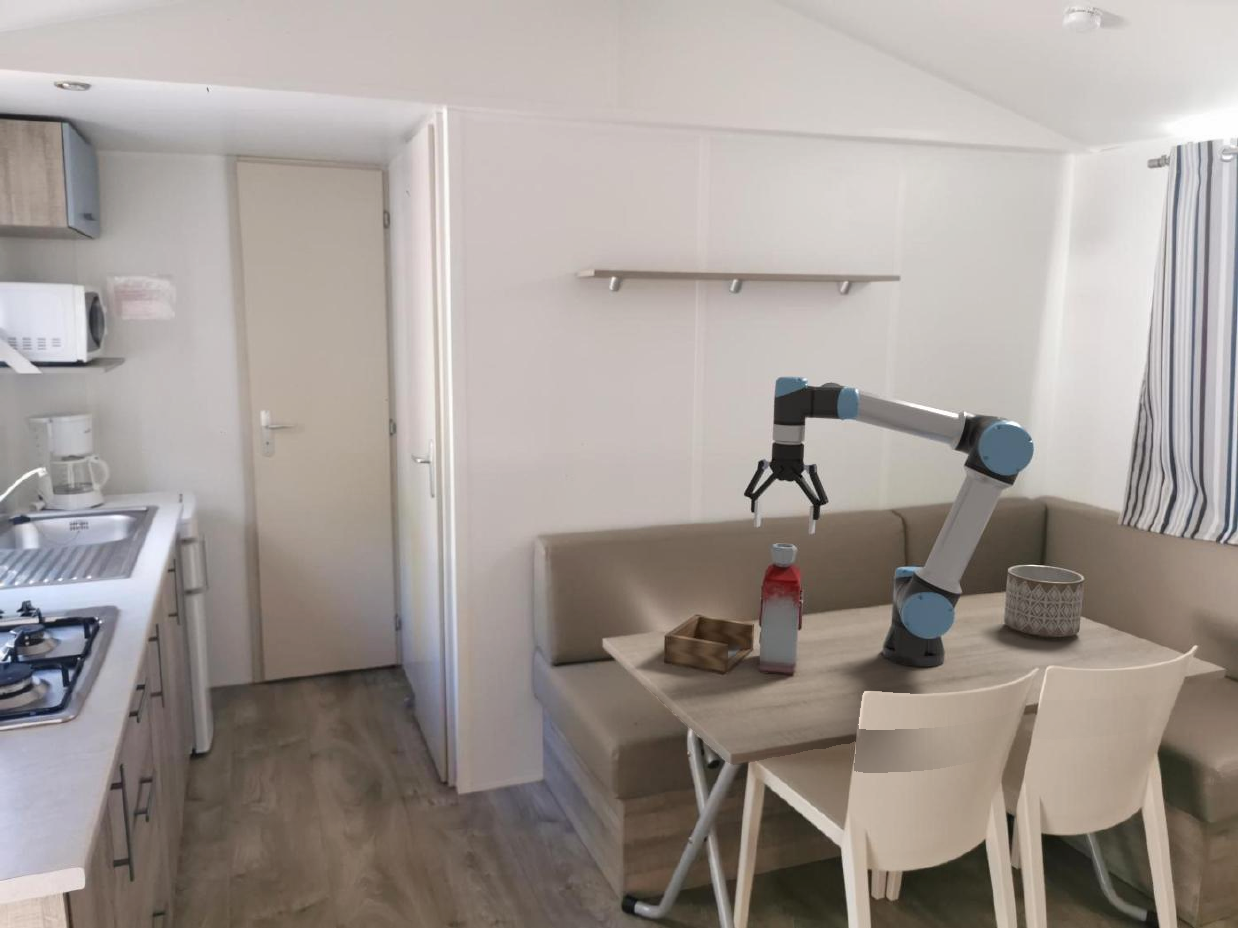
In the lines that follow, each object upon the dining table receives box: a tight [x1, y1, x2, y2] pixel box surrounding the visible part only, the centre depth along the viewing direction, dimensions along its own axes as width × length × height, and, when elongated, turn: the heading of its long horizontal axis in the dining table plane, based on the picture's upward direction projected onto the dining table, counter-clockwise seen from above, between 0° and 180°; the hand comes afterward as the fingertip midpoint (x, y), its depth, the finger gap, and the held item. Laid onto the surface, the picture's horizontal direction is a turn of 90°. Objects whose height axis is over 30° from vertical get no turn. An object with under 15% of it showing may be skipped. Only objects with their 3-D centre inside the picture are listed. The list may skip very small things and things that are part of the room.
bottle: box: [758, 542, 804, 676], centre depth 241 cm, size 14×10×30 cm
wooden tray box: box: [663, 614, 755, 675], centre depth 248 cm, size 16×20×7 cm
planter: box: [1003, 564, 1085, 638], centre depth 273 cm, size 19×19×16 cm
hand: (784, 529), depth 238 cm, fingers open, 13 cm apart
